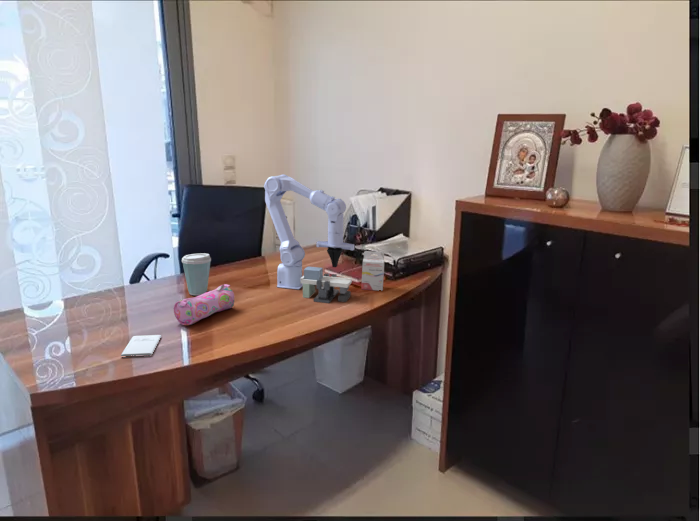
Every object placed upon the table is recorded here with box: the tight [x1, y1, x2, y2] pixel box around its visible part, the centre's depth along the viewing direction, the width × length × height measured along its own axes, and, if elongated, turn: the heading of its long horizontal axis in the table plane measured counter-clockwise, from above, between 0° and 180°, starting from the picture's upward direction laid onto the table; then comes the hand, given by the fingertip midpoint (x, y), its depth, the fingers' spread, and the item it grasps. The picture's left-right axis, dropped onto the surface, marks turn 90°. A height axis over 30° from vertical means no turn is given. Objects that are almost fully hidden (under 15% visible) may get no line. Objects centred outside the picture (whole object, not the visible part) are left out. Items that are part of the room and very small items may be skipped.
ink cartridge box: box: [361, 250, 385, 292], centre depth 196 cm, size 9×5×15 cm, turn 84°
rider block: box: [303, 266, 324, 280], centre depth 187 cm, size 6×4×4 cm
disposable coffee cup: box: [181, 252, 212, 297], centre depth 187 cm, size 11×11×15 cm
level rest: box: [302, 284, 316, 299], centre depth 189 cm, size 2×7×6 cm, turn 165°
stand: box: [313, 273, 340, 304], centre depth 187 cm, size 6×13×8 cm, turn 165°
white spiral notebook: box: [120, 334, 162, 357], centre depth 143 cm, size 2×8×12 cm
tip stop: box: [337, 290, 352, 303], centre depth 186 cm, size 3×7×2 cm, turn 165°
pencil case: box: [173, 283, 235, 326], centre depth 166 cm, size 21×9×9 cm, turn 150°
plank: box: [301, 275, 353, 294], centre depth 186 cm, size 18×10×4 cm, turn 75°
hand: (334, 266), depth 190 cm, fingers closed
